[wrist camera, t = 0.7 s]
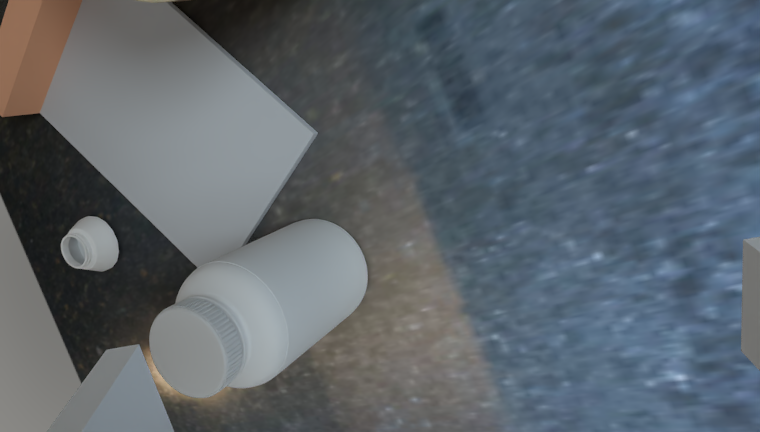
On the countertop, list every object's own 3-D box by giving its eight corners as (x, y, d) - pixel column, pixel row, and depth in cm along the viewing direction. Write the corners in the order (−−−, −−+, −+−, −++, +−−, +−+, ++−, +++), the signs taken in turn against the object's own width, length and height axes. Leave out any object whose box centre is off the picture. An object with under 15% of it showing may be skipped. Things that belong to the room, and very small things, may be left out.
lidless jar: (72, 224, 56) (95, 274, 57) (44, 233, 54) (68, 285, 54) (107, 207, 54) (130, 260, 54) (79, 216, 51) (103, 270, 52)
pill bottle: (344, 200, 44) (206, 268, 31) (387, 303, 44) (270, 413, 31) (261, 233, 48) (107, 305, 34) (302, 327, 48) (165, 434, 35)
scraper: (83, -77, 47) (36, -87, 44) (318, 132, 43) (287, 140, 40) (23, 90, 54) (-21, 94, 51) (220, 283, 50) (187, 301, 47)
